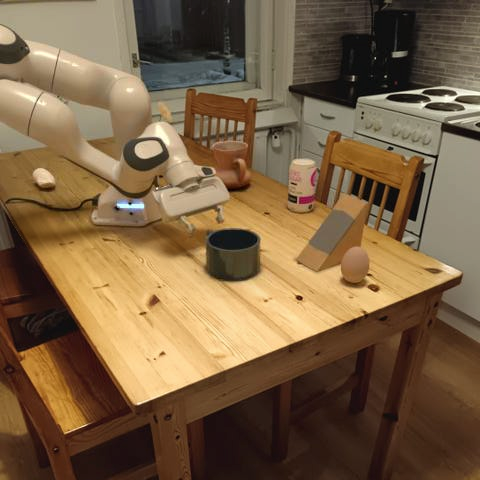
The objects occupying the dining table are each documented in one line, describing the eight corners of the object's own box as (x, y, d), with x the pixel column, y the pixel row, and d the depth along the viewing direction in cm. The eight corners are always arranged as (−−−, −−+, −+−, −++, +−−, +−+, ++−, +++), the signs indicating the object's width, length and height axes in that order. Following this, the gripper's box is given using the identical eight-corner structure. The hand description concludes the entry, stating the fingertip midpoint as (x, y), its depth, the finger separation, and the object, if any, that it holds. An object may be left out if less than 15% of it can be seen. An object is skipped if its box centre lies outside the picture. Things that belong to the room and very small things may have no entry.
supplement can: (315, 205, 163) (319, 159, 155) (309, 215, 157) (313, 167, 148) (291, 202, 165) (293, 156, 157) (284, 211, 159) (287, 164, 150)
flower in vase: (162, 179, 185) (156, 107, 171) (139, 174, 190) (131, 103, 176) (184, 170, 194) (180, 101, 180) (161, 165, 199) (155, 98, 185)
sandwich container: (294, 259, 131) (298, 204, 123) (337, 245, 139) (343, 192, 130) (316, 272, 126) (321, 215, 117) (359, 256, 133) (367, 202, 124)
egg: (348, 290, 118) (353, 255, 113) (333, 278, 123) (337, 244, 118) (372, 285, 120) (378, 250, 115) (356, 273, 125) (361, 239, 120)
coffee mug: (270, 270, 126) (271, 240, 122) (228, 286, 119) (228, 256, 115) (228, 246, 138) (227, 218, 133) (187, 260, 131) (185, 231, 126)
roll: (42, 194, 172) (39, 178, 169) (34, 184, 180) (30, 168, 177) (60, 191, 175) (57, 175, 171) (51, 181, 183) (47, 166, 180)
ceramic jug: (202, 181, 183) (201, 141, 175) (238, 176, 188) (238, 136, 181) (223, 197, 170) (222, 154, 162) (261, 190, 175) (262, 149, 167)
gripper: (153, 182, 123) (178, 232, 122) (219, 166, 134) (242, 212, 133) (145, 195, 129) (169, 243, 128) (209, 178, 139) (232, 222, 139)
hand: (207, 227), depth 131 cm, fingers open, 8 cm apart
